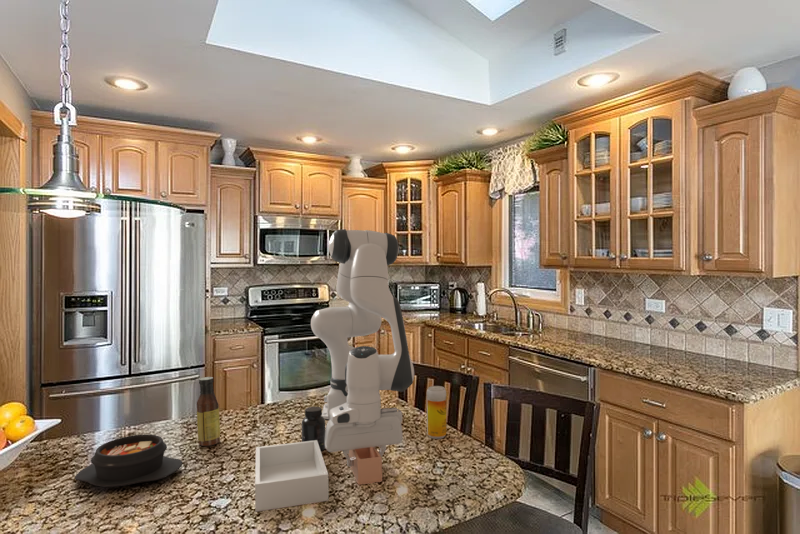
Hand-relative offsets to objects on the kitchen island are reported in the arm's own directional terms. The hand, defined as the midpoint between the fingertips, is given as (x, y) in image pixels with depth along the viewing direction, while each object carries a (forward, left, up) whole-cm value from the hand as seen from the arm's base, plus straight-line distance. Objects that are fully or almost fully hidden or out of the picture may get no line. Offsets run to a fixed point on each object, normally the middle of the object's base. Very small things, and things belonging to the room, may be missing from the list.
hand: (364, 463), depth 122 cm
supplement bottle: (-19, -11, -2) cm, 22 cm away
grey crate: (+1, -19, -2) cm, 19 cm away
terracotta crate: (0, 0, -2) cm, 2 cm away
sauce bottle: (-34, -41, -2) cm, 53 cm away
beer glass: (-18, +27, -2) cm, 33 cm away
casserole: (-16, -58, -2) cm, 60 cm away
